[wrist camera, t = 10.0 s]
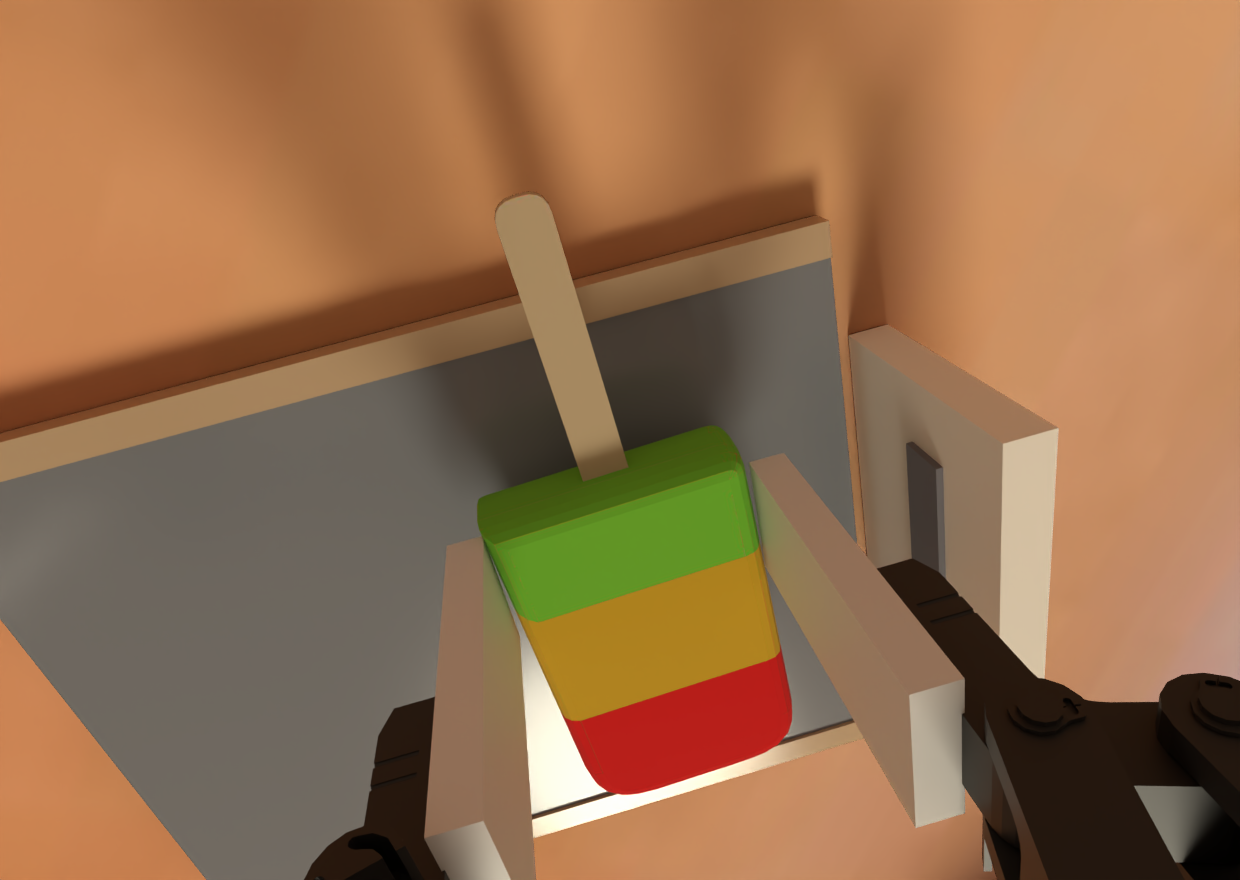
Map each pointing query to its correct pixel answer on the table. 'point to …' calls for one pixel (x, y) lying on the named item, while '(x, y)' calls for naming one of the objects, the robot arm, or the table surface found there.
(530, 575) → the popsicle
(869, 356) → the word card
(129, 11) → the table surface
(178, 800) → the slate board
